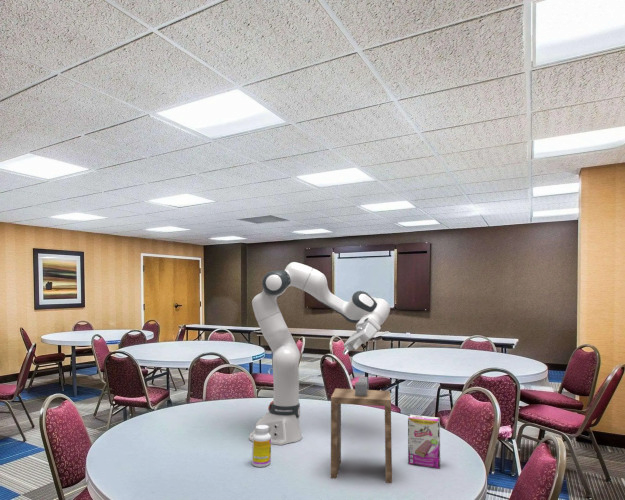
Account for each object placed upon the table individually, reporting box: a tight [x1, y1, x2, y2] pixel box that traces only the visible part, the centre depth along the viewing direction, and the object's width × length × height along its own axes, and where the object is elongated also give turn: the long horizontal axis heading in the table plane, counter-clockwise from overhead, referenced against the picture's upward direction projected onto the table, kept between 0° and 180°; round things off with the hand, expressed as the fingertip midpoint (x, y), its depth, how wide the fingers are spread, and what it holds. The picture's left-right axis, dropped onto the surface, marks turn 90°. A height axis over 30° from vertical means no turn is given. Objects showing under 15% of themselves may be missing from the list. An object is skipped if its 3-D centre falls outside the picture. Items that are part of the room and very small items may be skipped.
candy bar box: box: [407, 414, 441, 469], centre depth 149 cm, size 11×5×16 cm, turn 71°
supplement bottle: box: [251, 425, 272, 468], centre depth 147 cm, size 7×7×13 cm
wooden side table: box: [330, 387, 393, 484], centre depth 142 cm, size 20×14×26 cm
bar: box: [354, 376, 368, 397], centre depth 150 cm, size 4×20×4 cm, turn 170°
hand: (349, 351), depth 170 cm, fingers open, 8 cm apart
